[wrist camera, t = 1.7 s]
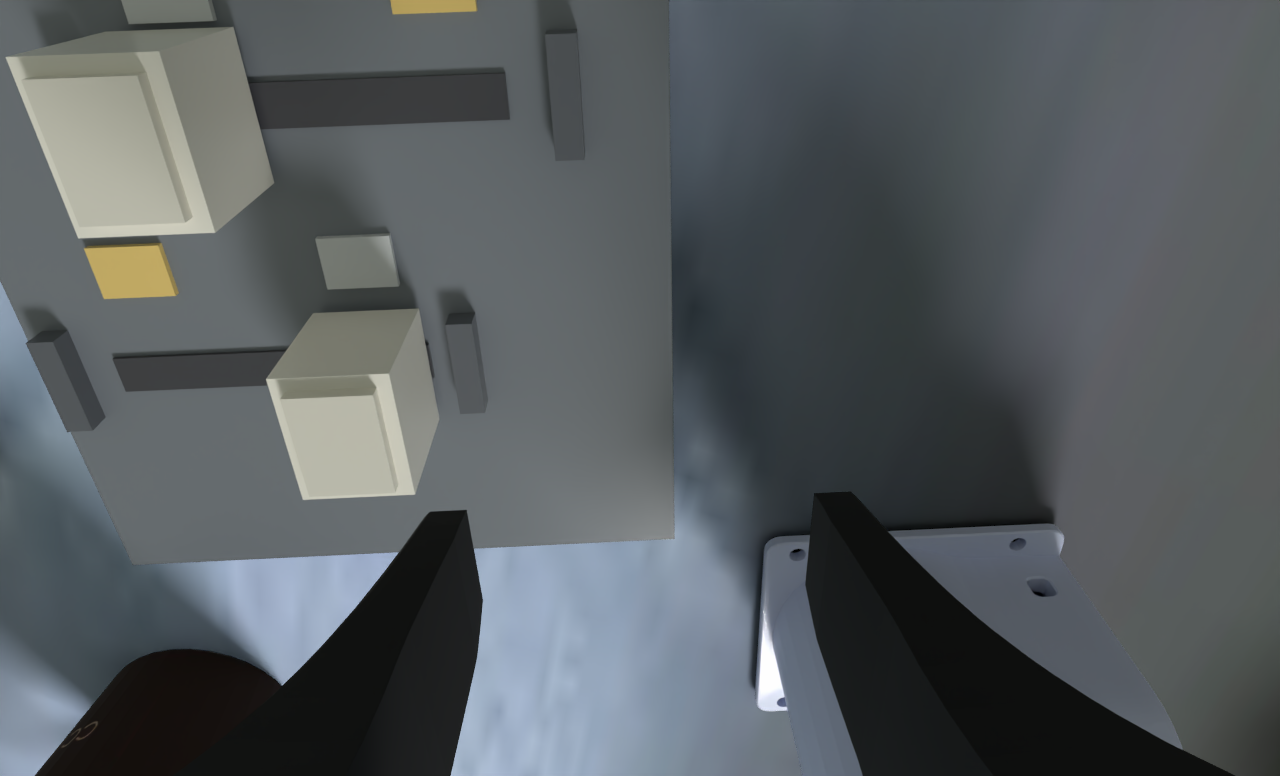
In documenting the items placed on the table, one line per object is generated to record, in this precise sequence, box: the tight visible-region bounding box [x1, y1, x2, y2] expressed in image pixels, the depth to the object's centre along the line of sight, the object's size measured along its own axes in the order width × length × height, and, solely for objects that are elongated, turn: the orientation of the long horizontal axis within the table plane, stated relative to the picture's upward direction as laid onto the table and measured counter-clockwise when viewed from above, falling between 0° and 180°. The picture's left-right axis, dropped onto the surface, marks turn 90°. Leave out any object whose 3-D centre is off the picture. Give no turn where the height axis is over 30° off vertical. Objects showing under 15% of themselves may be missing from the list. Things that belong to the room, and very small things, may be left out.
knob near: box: [6, 27, 274, 238], centre depth 15 cm, size 2×3×3 cm
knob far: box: [266, 309, 439, 500], centre depth 18 cm, size 2×3×3 cm
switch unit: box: [0, 0, 674, 565], centre depth 20 cm, size 15×15×3 cm
